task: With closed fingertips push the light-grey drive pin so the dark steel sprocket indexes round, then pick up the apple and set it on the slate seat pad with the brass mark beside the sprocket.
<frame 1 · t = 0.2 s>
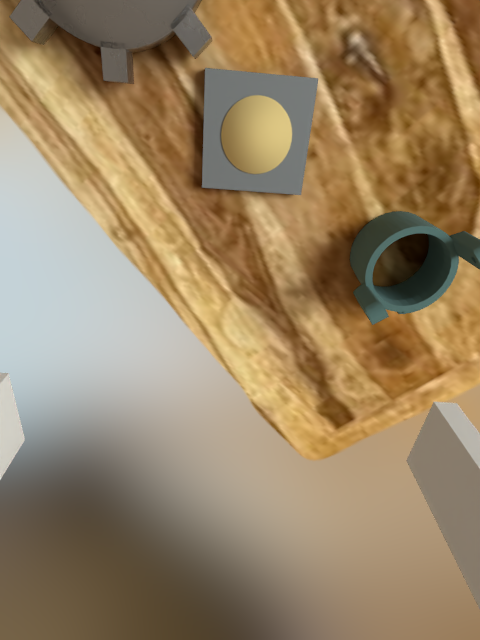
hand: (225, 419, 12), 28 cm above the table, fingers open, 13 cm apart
seat: (255, 135, 33), on the table
bracket: (391, 255, 39), on the table
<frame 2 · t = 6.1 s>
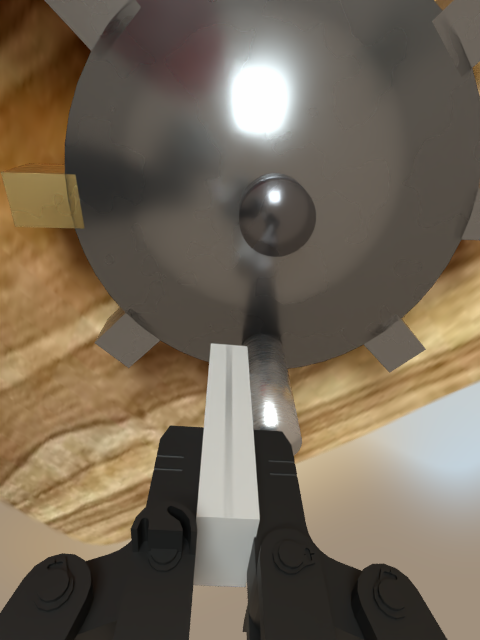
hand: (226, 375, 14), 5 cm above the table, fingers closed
sprocket: (277, 220, 12), point 4 cm above the table, hinge at 3.6°, touching gripper
hub: (266, 190, 16), on the table
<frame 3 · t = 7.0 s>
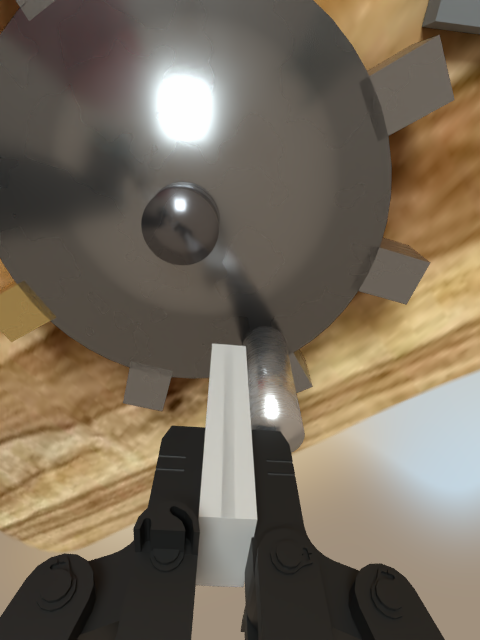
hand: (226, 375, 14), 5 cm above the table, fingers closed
sprocket: (180, 229, 12), point 4 cm above the table, hinge at 34.4°, touching gripper
hub: (194, 198, 16), on the table
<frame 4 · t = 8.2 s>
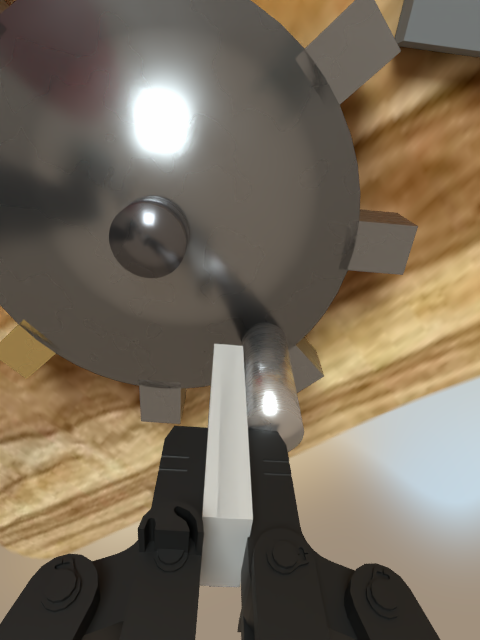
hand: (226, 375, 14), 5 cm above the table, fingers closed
sprocket: (147, 242, 12), point 4 cm above the table, hinge at 46.5°, touching gripper
hub: (170, 210, 16), on the table
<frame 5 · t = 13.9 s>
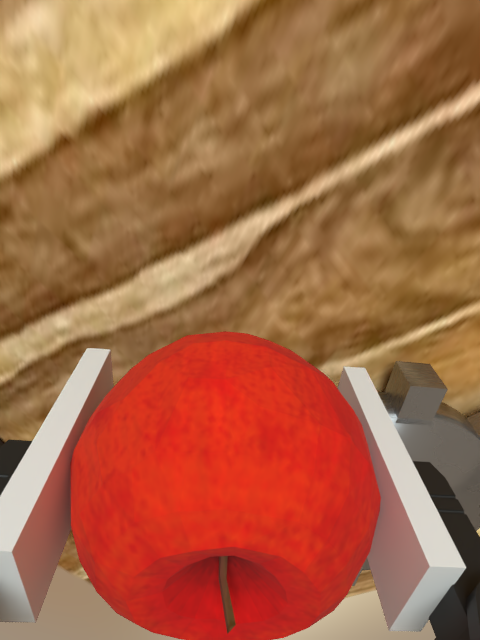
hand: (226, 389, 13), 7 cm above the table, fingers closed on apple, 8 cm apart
apple: (226, 380, 14), point 6 cm above the table, touching gripper
sprocket: (385, 530, 21), point 5 cm above the table, hinge at 45.3°
when the fingers open (2 cm above the table, at t = 18.0 s): apple stays where it is, resting on seat.
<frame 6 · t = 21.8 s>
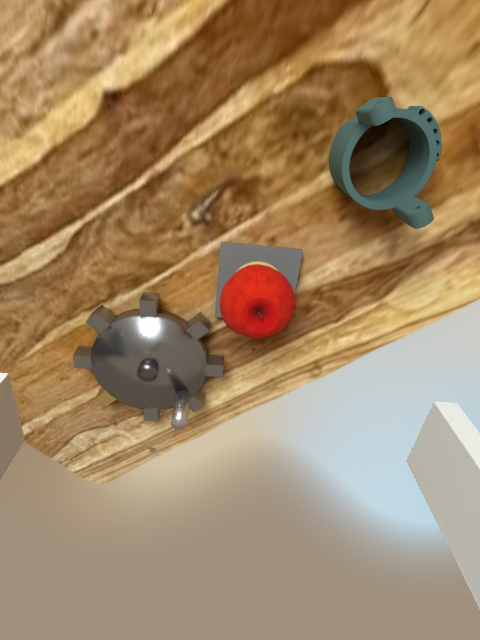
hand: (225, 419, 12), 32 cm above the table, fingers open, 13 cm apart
apple: (255, 286, 44), point 1 cm above the table, touching seat
sprocket: (147, 374, 45), point 5 cm above the table, hinge at 45.3°
seat: (256, 282, 44), on the table
hub: (153, 352, 49), on the table
bracket: (374, 153, 38), on the table
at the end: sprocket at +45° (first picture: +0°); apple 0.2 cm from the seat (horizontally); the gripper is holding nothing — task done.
